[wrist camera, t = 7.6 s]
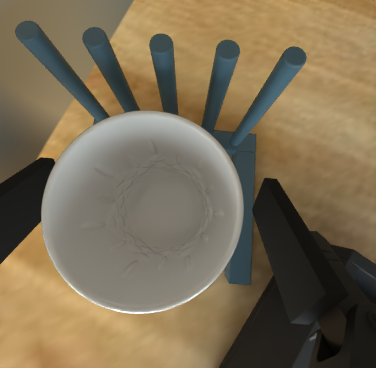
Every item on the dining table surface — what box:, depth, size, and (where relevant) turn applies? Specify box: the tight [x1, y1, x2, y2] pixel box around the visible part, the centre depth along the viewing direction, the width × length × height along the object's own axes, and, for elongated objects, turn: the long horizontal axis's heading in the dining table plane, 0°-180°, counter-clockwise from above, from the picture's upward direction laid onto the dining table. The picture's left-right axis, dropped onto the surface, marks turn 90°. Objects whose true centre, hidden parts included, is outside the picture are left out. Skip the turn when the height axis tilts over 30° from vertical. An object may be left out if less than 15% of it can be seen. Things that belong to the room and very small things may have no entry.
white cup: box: [41, 110, 244, 314], centre depth 12 cm, size 8×8×10 cm
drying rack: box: [15, 21, 307, 285], centre depth 12 cm, size 13×15×11 cm
